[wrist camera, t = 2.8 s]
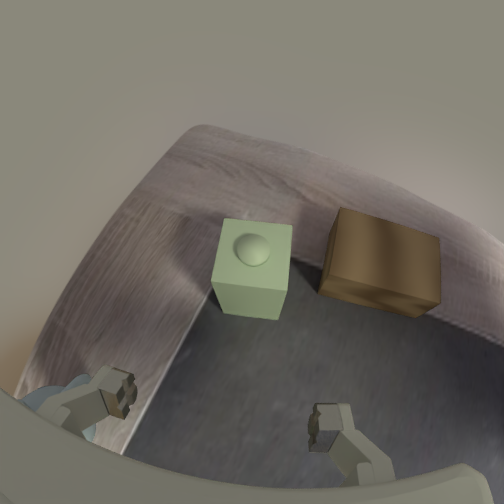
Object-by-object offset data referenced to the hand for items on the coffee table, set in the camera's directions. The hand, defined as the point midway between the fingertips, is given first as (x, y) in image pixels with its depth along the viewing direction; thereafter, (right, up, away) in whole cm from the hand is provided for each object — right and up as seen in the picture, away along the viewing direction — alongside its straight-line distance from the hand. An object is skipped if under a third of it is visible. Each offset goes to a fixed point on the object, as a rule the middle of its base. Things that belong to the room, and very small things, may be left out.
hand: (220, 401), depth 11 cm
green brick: (+2, +3, +16) cm, 16 cm away
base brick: (+14, +4, +16) cm, 22 cm away
